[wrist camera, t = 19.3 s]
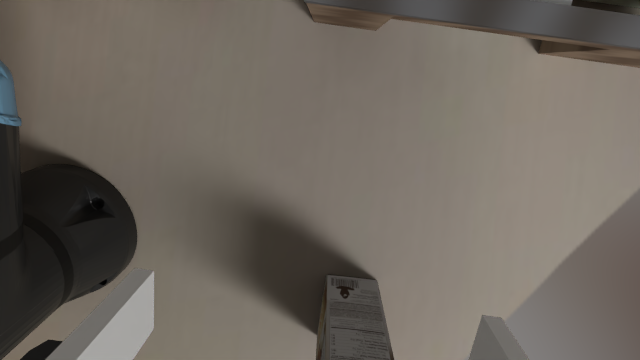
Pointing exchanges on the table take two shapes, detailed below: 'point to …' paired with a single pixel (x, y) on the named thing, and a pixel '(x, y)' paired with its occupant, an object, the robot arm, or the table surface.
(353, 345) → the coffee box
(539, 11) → the wall frame
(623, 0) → the sliding door
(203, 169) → the table surface
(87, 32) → the table surface
